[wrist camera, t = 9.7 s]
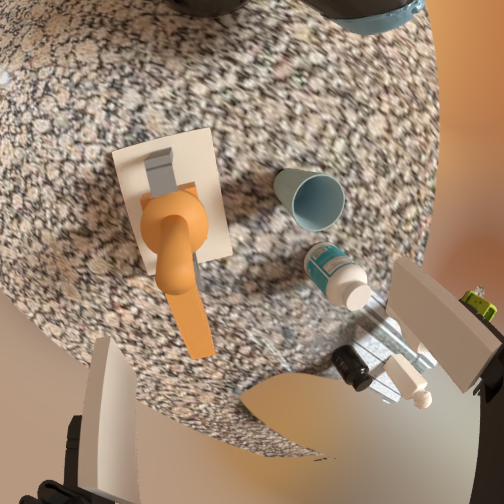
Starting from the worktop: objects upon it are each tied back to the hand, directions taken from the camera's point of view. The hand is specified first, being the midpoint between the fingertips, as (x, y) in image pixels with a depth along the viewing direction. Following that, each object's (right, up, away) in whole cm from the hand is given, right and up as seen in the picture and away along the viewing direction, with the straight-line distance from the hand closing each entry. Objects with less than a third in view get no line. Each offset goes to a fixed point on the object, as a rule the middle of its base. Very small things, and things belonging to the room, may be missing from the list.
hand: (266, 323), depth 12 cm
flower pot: (+77, -16, +68) cm, 105 cm away
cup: (+5, +14, +32) cm, 35 cm away
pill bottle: (+12, +2, +40) cm, 42 cm away
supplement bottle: (+23, -23, +56) cm, 65 cm away
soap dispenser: (+45, -32, +67) cm, 87 cm away
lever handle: (-11, +7, +25) cm, 28 cm away
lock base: (-12, +10, +28) cm, 33 cm away
